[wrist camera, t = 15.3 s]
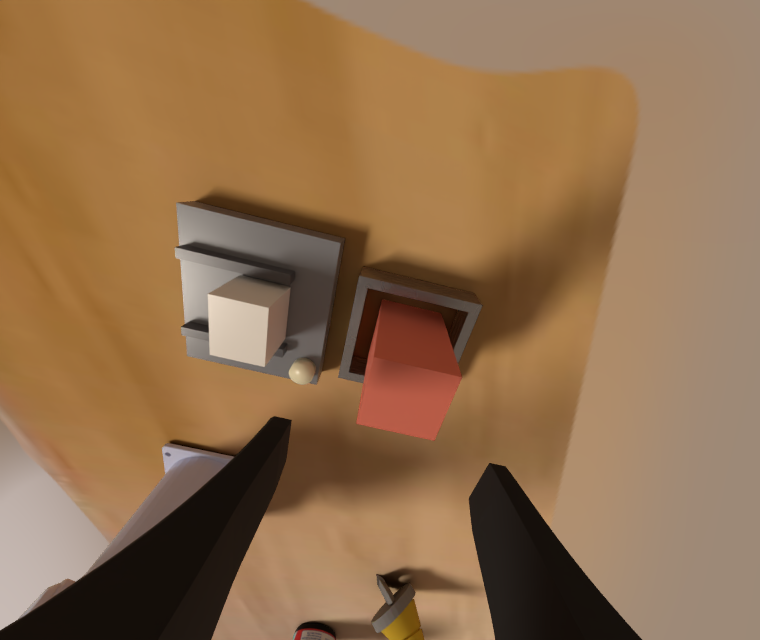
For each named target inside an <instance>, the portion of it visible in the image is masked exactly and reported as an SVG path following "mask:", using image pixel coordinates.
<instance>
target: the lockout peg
mask: <svg viewBox="0 0 760 640" xmlns="http://www.w3.org/2000/svg"><path fill="white" fill-rule="evenodd" d="M461 379H462V375H461V372H460V369H459V366H458V363H457V360H456V357H455V354H454V351H453V348H452V345H451V342H450V339H449V335H448V332H447V329H446V326H445V323H444V320H443V317H442V314H441V313H438V312H434V311H430V310H426V309H422V308H417V307H413V306H409V305H405V304H401V303H396V302H392V301H388V300H384V299H382V302H381V306H380V310H379V313H378V317H377V321H376V325H375V329H374V333H373V337H372V341H371V345H370V349H369V354H368V360H367V365H366V371H365V377H364V382H363V388H362V394H361V399H360V405H359V410H358V416H357V422H356V424H360V425H364V426H369V427H374V428H378V429H383V430H387V431H392V432H396V433H401V434H406V435H410V436H415V437H419V438H424V439H428V440H433V441H434V440H435V438H436V436H437V434H438V431H439V429H440V427H441V425H442V422H443V420H444V418H445V415H446V413H447V411H448V409H449V406H450V404H451V402H452V399H453V397H454V395H455V393H456V390H457V388H458V386H459V384H460V381H461Z"/></svg>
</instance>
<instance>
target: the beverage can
mask: <svg viewBox="0 0 760 640" xmlns="http://www.w3.org/2000/svg"><path fill="white" fill-rule="evenodd" d="M293 640H336V635H335V632H334V631H333V630H332V629H331V628H329V627H327V626H325V625H322V624H316V623H307V624H303V625H300V626H299V627H298V628H297V629H296V631H295V633H294V636H293Z"/></svg>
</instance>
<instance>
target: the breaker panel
mask: <svg viewBox="0 0 760 640" xmlns="http://www.w3.org/2000/svg"><path fill="white" fill-rule="evenodd" d="M176 205H177V219H178V233H179V246H178V247H175V257H176V258H178V259H180V261H181V275H182V289H183V303H184V317H185V324H184V325H183V326H181V334H182V335H184V336H186V345H187V356H190V357H194V358H199V359H203V360H208V361H212V362H217V363H221V364H226V365H230V366H235V367H239V368H244V369H248V370H253V371H257V372H262V373H266V374H271V375H275V376H280V377H284V378H289V379H291V380H292V381H294V382H295V383H297V384H301V385H304V384H308V383H311V384H316V385H317V382H318V380H319V377H320V375H321V372H322V367H323V362H324V356H325V350H326V344H327V339H328V333H329V327H330V322H331V316H332V310H333V304H334V299H335V293H336V287H337V282H338V276H339V270H340V264H341V259H342V253H343V247H344V242H345V238H341V237H337V236H333V235H329V234H325V233H321V232H317V231H313V230H309V229H305V228H301V227H297V226H293V225H289V224H285V223H281V222H277V221H273V220H268V219H264V218H260V217H256V216H252V215H248V214H244V213H240V212H236V211H232V210H228V209H224V208H220V207H216V206H212V205H208V204H204V203H200V202H196V201H190V202H179V203H176ZM239 275H242V276H246V277H251V278H255V279H259V280H263V281H268V282H272V283H276V284H280V285H284V286H289V287H291V289H290V298H289V308H288V318H287V328H286V338H285V340H284V341H283V343H282V344H281V345H280V347H279V348H278V350H277V351H276V352H275V354H274V355H273V356H272V358H271V359H270V361H269V362H268V363H267V365H266V366H265V367H262V366H258V365H253V364H249V363H244V362H240V361H235V360H231V359H226V358H222V357H217V356H213V355H210V350H209V318H208V293H210V292H212V291H214V290H215V289H217V288H219V287H220V286H222V285H224V284H226V283H227V282H229V281H231V280H232V279H234V278H236V277H238V276H239Z"/></svg>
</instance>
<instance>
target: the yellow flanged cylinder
mask: <svg viewBox="0 0 760 640" xmlns="http://www.w3.org/2000/svg"><path fill="white" fill-rule="evenodd" d="M377 585H378V587H379V589H380V591H381V593H382V595H383V597H384V599H385V601H386V603H385V604H384V605H383V606H382V607H381V608H380V610H379V611H378V612H377V613H376V614H375V616H374V617H373V619H372V621H371V623H372V625H373V627H374V629H375V631H376V633H379V632H382V633H383V634H384V635H385V636H386V637H387V638H388V639H389V640H424V636H423V632H422V629H420V626H421V625H420V621H419V617H418V613H417V609H416V605H415V601H414V599H413V597H414V596H415V591H414V589H413V587H412V586H411V584H410V583H407V584H406V585H404V586H403V587H402V588H400V589H399V590H398V591H397V592H396V593H395V594H394V595H393V594H392V592H391V590H390V589H389V587H388V586H387V584H386V582H385V580H384V579H383V578H382V577H380V576H379V575H377Z"/></svg>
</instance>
